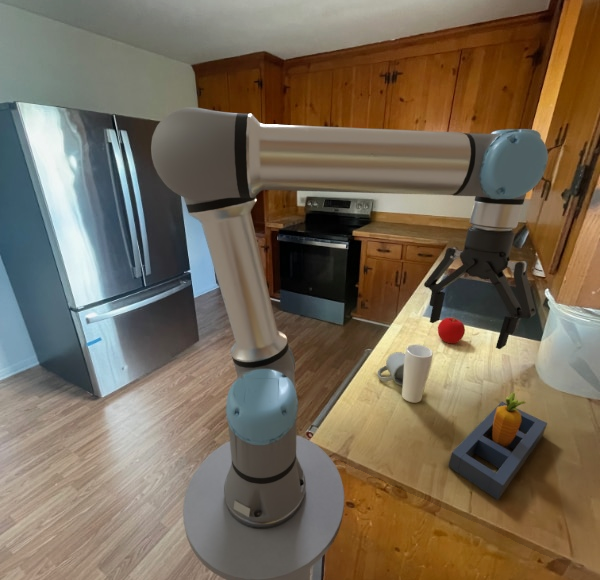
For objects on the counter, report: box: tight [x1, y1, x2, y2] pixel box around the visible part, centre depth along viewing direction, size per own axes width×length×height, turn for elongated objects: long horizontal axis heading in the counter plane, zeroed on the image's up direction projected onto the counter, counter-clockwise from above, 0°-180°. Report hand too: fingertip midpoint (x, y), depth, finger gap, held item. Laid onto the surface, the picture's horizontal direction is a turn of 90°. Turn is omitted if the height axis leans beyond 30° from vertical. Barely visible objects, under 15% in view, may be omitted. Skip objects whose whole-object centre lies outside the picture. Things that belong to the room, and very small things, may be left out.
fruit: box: [437, 315, 466, 344], centre depth 120 cm, size 9×9×10 cm
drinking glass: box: [401, 344, 434, 404], centre depth 88 cm, size 7×7×15 cm
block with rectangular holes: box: [448, 401, 548, 501], centre depth 74 cm, size 10×26×4 cm, turn 130°
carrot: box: [491, 392, 527, 449], centre depth 72 cm, size 5×5×15 cm
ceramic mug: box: [376, 351, 405, 387], centre depth 98 cm, size 11×8×8 cm
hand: (465, 333), depth 67 cm, fingers open, 13 cm apart
